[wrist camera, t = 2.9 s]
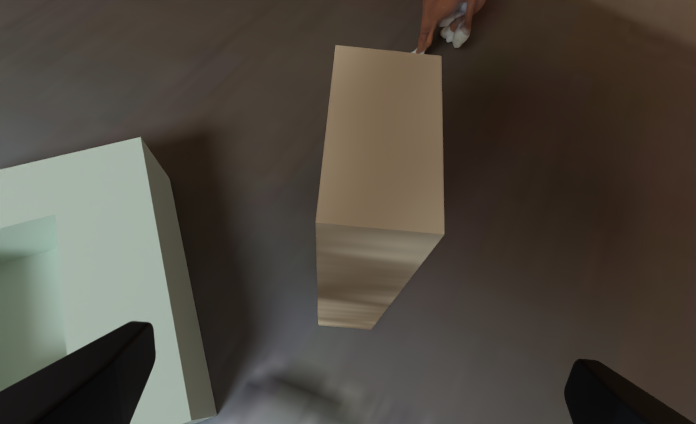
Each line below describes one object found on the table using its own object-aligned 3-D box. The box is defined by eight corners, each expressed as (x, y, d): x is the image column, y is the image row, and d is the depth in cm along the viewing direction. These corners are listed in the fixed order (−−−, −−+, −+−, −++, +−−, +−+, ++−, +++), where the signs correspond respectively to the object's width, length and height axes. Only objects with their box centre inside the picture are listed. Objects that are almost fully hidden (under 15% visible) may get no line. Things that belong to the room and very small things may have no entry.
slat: (375, 240, 22) (441, 55, 10) (370, 329, 20) (444, 234, 8) (327, 235, 22) (335, 45, 10) (318, 325, 20) (315, 222, 8)
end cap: (169, 178, 23) (140, 137, 19) (217, 415, 18) (191, 420, 15) (-85, 243, 20) (-174, 209, 17) (-100, 528, 16) (-223, 567, 12)
